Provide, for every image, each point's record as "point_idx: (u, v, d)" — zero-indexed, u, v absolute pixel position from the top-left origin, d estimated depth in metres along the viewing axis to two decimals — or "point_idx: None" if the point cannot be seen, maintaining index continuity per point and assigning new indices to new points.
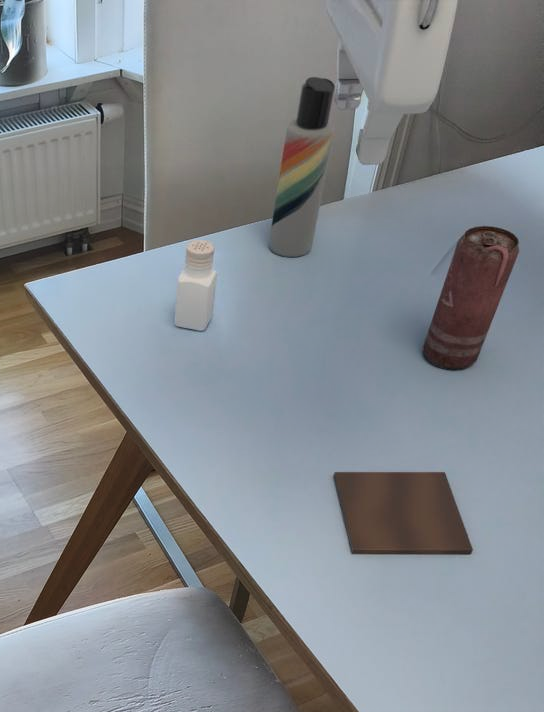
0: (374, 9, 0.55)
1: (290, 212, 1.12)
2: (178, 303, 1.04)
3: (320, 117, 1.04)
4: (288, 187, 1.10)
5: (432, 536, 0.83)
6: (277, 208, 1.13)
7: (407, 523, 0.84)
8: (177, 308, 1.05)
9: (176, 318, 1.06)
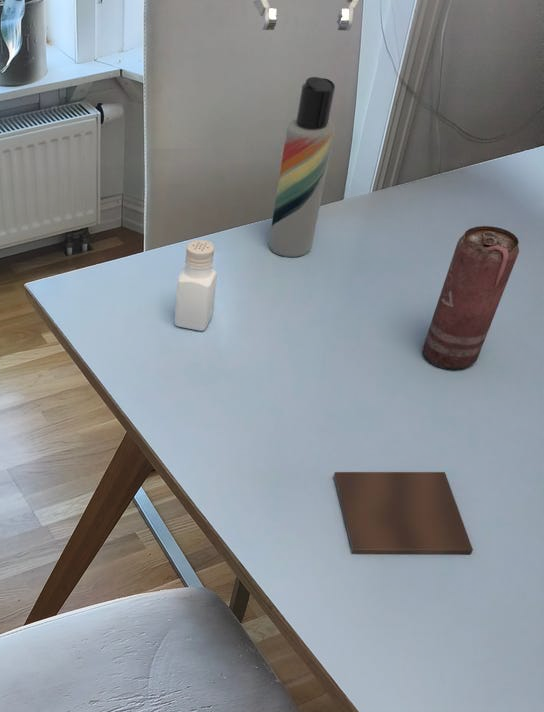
0: None
1: (290, 212, 1.12)
2: (178, 303, 1.04)
3: (320, 117, 1.04)
4: (288, 187, 1.10)
5: (432, 536, 0.83)
6: (277, 208, 1.13)
7: (407, 523, 0.84)
8: (177, 308, 1.05)
9: (176, 318, 1.06)
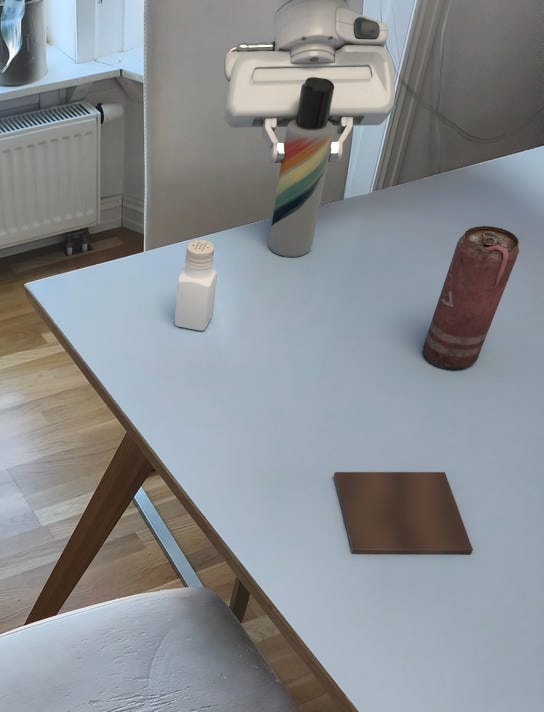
0: None
1: (290, 212, 1.12)
2: (178, 303, 1.04)
3: (320, 117, 1.04)
4: (288, 187, 1.10)
5: (432, 536, 0.83)
6: (277, 208, 1.13)
7: (407, 523, 0.84)
8: (177, 308, 1.05)
9: (176, 318, 1.06)
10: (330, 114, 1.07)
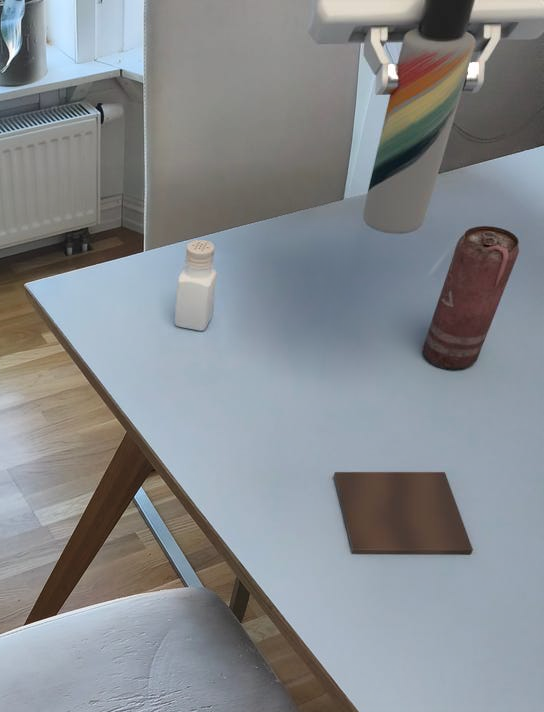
0: None
1: (401, 168, 0.78)
2: (178, 303, 1.04)
3: (458, 21, 0.70)
4: (400, 130, 0.76)
5: (432, 536, 0.83)
6: (380, 163, 0.79)
7: (407, 523, 0.84)
8: (177, 308, 1.05)
9: (176, 318, 1.06)
10: None
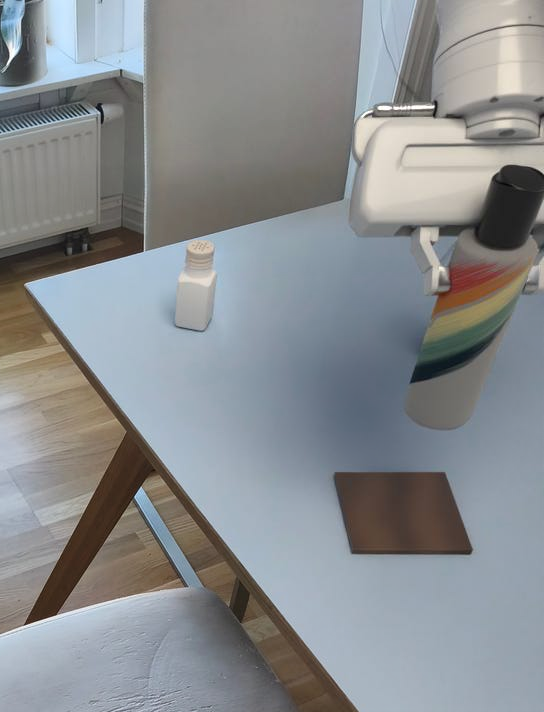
0: None
1: (449, 370, 0.70)
2: (178, 303, 1.04)
3: (520, 231, 0.62)
4: (451, 334, 0.68)
5: (432, 536, 0.83)
6: (426, 361, 0.71)
7: (407, 523, 0.84)
8: (177, 308, 1.05)
9: (176, 318, 1.06)
10: None
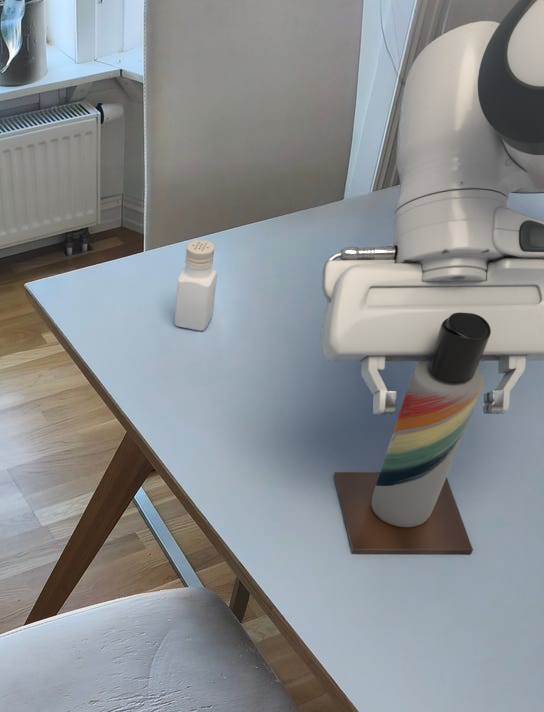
0: None
1: (409, 479, 0.79)
2: (178, 303, 1.04)
3: (467, 370, 0.71)
4: (410, 450, 0.77)
5: (432, 536, 0.83)
6: (389, 469, 0.80)
7: None
8: (177, 308, 1.05)
9: (176, 318, 1.06)
10: None
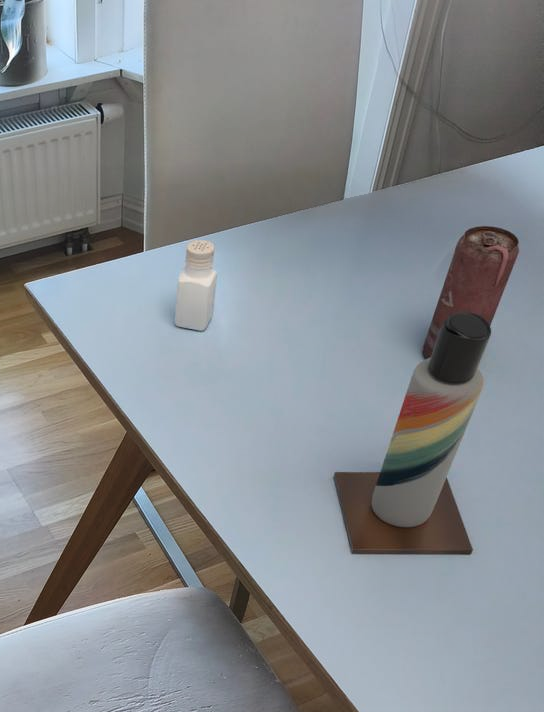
0: None
1: (410, 479, 0.79)
2: (178, 303, 1.04)
3: (467, 370, 0.71)
4: (410, 450, 0.77)
5: (432, 536, 0.83)
6: (389, 469, 0.80)
7: None
8: (177, 308, 1.05)
9: (176, 318, 1.06)
10: None
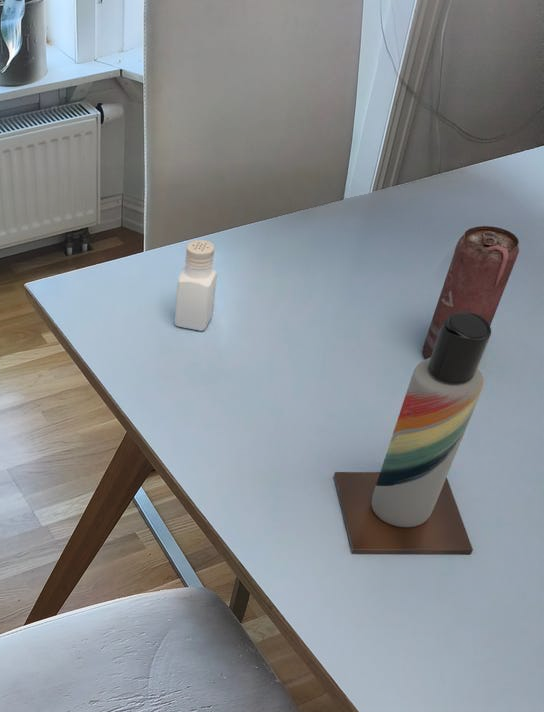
0: None
1: (410, 479, 0.79)
2: (178, 303, 1.04)
3: (467, 370, 0.71)
4: (410, 450, 0.77)
5: (432, 536, 0.83)
6: (389, 469, 0.80)
7: None
8: (177, 308, 1.05)
9: (176, 318, 1.06)
10: None
